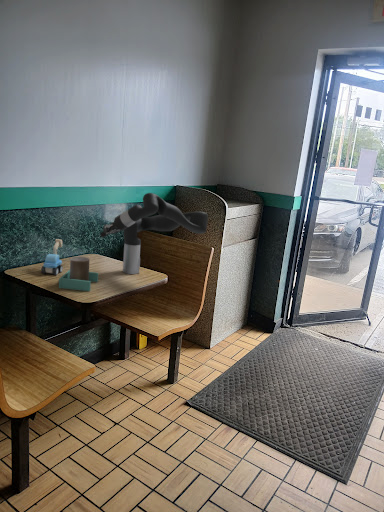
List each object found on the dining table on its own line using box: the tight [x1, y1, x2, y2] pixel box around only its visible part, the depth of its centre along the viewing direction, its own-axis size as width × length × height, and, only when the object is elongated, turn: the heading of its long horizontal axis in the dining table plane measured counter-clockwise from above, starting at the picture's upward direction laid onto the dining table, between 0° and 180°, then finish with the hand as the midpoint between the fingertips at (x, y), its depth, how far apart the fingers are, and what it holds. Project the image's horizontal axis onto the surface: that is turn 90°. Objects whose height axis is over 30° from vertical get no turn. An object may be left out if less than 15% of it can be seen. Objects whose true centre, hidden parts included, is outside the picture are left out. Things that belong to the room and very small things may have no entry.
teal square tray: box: [58, 269, 99, 292], centre depth 219 cm, size 16×17×5 cm
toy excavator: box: [40, 238, 64, 276], centre depth 235 cm, size 9×17×17 cm, turn 174°
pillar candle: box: [69, 256, 90, 281], centre depth 219 cm, size 10×10×15 cm
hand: (101, 235), depth 219 cm, fingers closed
